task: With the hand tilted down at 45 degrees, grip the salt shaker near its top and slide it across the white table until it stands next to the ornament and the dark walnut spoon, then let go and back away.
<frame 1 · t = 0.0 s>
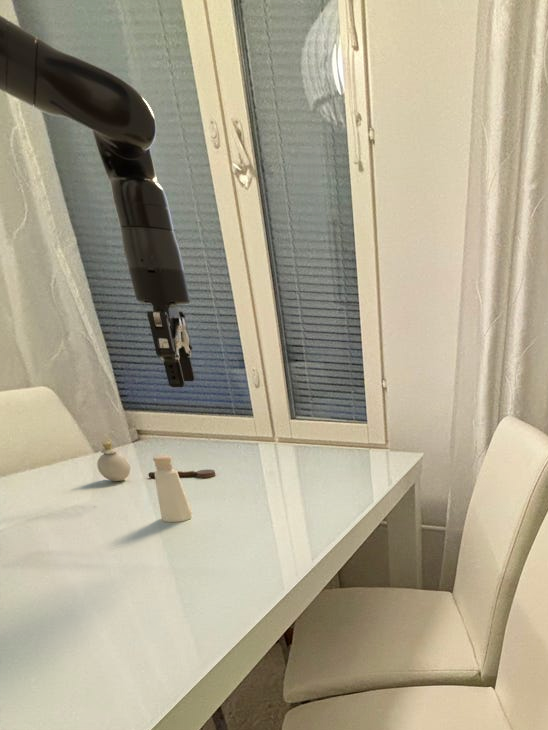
hand: (183, 383, 91), 23 cm above the table, tool pointing down, fingers open, 8 cm apart
salt shaker: (178, 518, 102), on the table
ornament: (119, 480, 122), on the table
walnut spoon: (187, 476, 126), on the table
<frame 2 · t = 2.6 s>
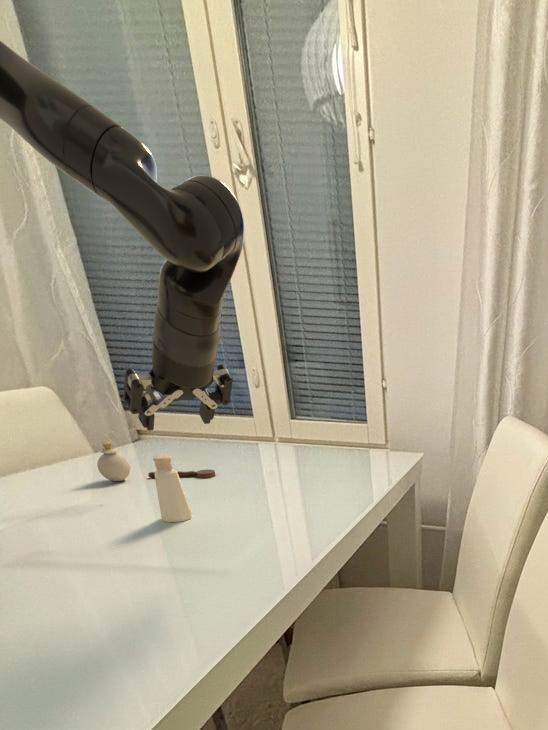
hand: (176, 422, 86), 18 cm above the table, tool tilted 45°, fingers open, 8 cm apart
nothing on the table moved.
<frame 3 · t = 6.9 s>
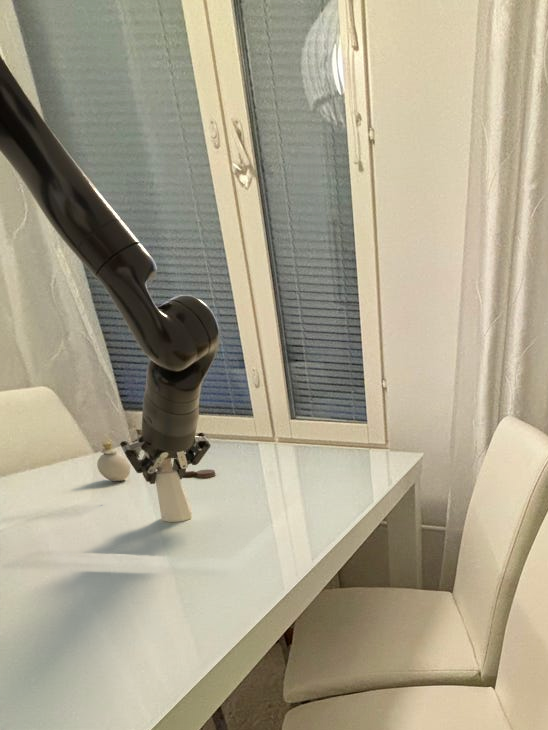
hand: (163, 477, 99), 7 cm above the table, tool tilted 45°, fingers closed on salt shaker, 4 cm apart
salt shaker: (178, 518, 102), on the table, touching gripper
everything else where it was.
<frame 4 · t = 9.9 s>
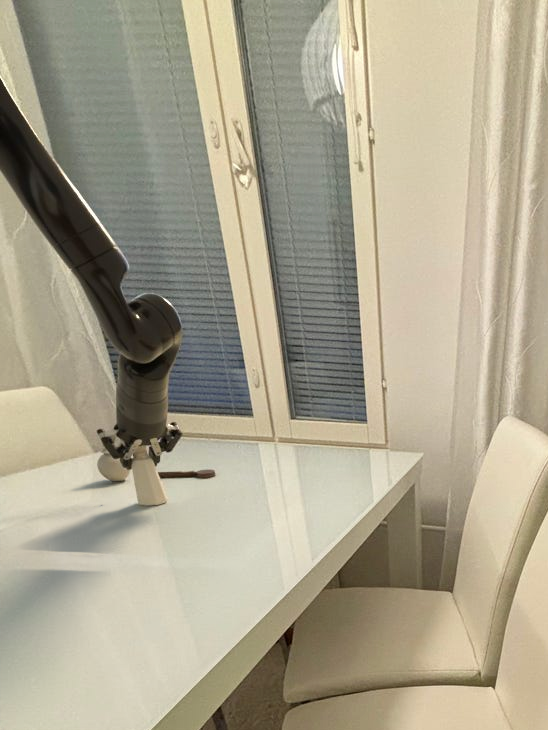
hand: (139, 464, 107), 7 cm above the table, tool tilted 45°, fingers closed on salt shaker, 4 cm apart
salt shaker: (153, 502, 109), on the table, touching gripper
everything else where it was.
when the fingers open (7 cm above the table, at t = 12.9 s): salt shaker stays where it is, on the table.
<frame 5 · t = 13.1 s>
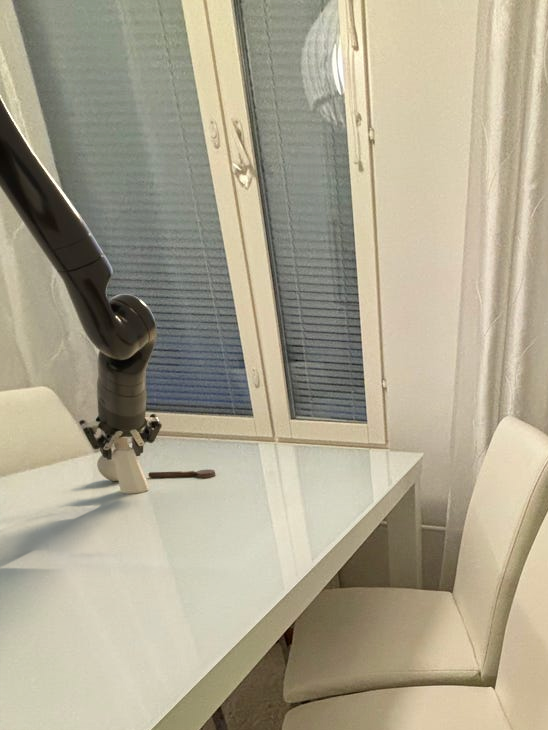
hand: (121, 454, 113), 7 cm above the table, tool tilted 45°, fingers open, 4 cm apart
salt shaker: (135, 491, 116), on the table
everything else where it was.
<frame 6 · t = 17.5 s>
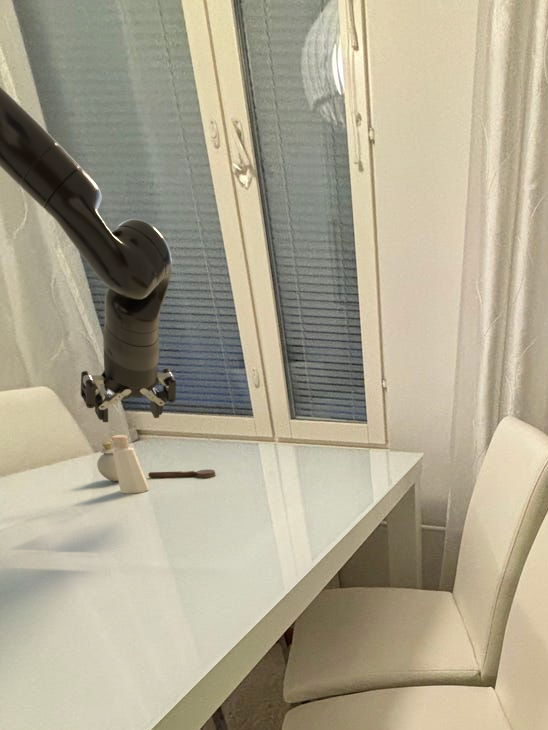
hand: (129, 416, 101), 16 cm above the table, tool tilted 45°, fingers open, 8 cm apart
nothing on the table moved.
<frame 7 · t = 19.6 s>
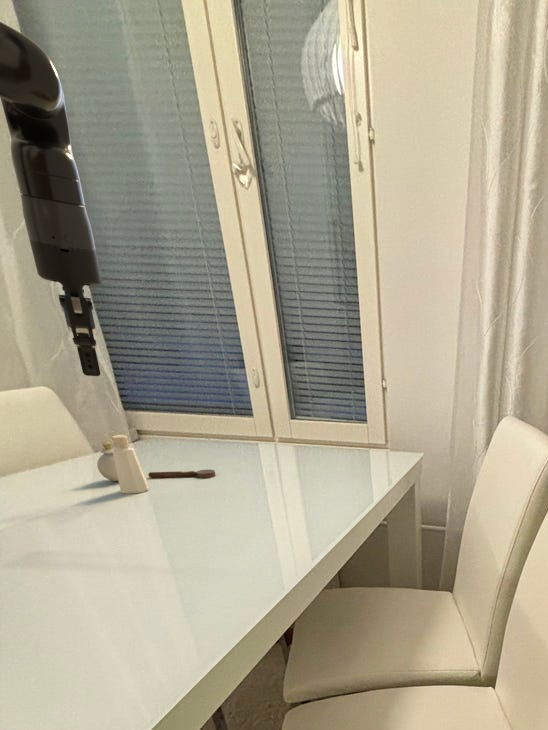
hand: (90, 368, 85), 25 cm above the table, tool pointing down, fingers open, 8 cm apart
nothing on the table moved.
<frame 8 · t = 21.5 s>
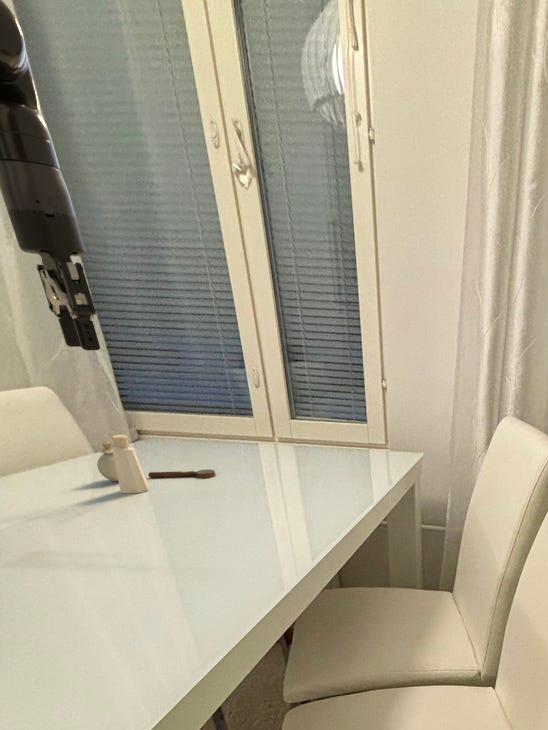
hand: (83, 348, 81), 28 cm above the table, tool pointing down, fingers open, 8 cm apart
nothing on the table moved.
at the end: salt shaker 11.1 cm from the ornament (horizontally); salt shaker moved 23.9 cm from its start; salt shaker tilted 0° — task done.
